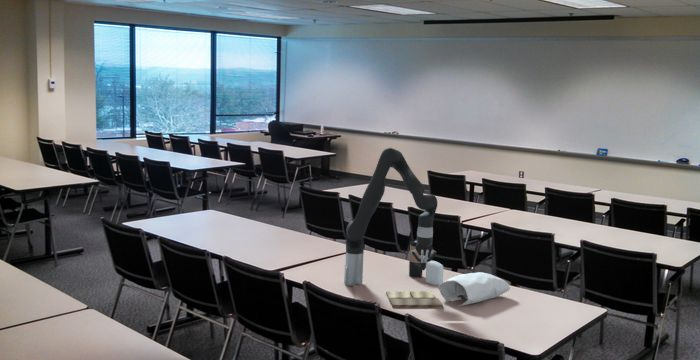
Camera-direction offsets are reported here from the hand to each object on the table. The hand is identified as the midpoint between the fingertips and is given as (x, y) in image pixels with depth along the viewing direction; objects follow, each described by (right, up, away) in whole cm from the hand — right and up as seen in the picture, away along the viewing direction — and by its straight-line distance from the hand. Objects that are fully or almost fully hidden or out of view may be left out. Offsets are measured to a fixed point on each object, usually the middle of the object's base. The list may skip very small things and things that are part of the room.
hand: (422, 269), depth 313 cm
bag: (+26, -16, +3) cm, 30 cm away
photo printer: (+9, -12, +26) cm, 29 cm away
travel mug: (0, -9, +39) cm, 40 cm away
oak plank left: (-12, -13, -1) cm, 18 cm away
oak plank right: (0, -14, 0) cm, 14 cm away
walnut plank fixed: (-4, -15, -10) cm, 19 cm away
